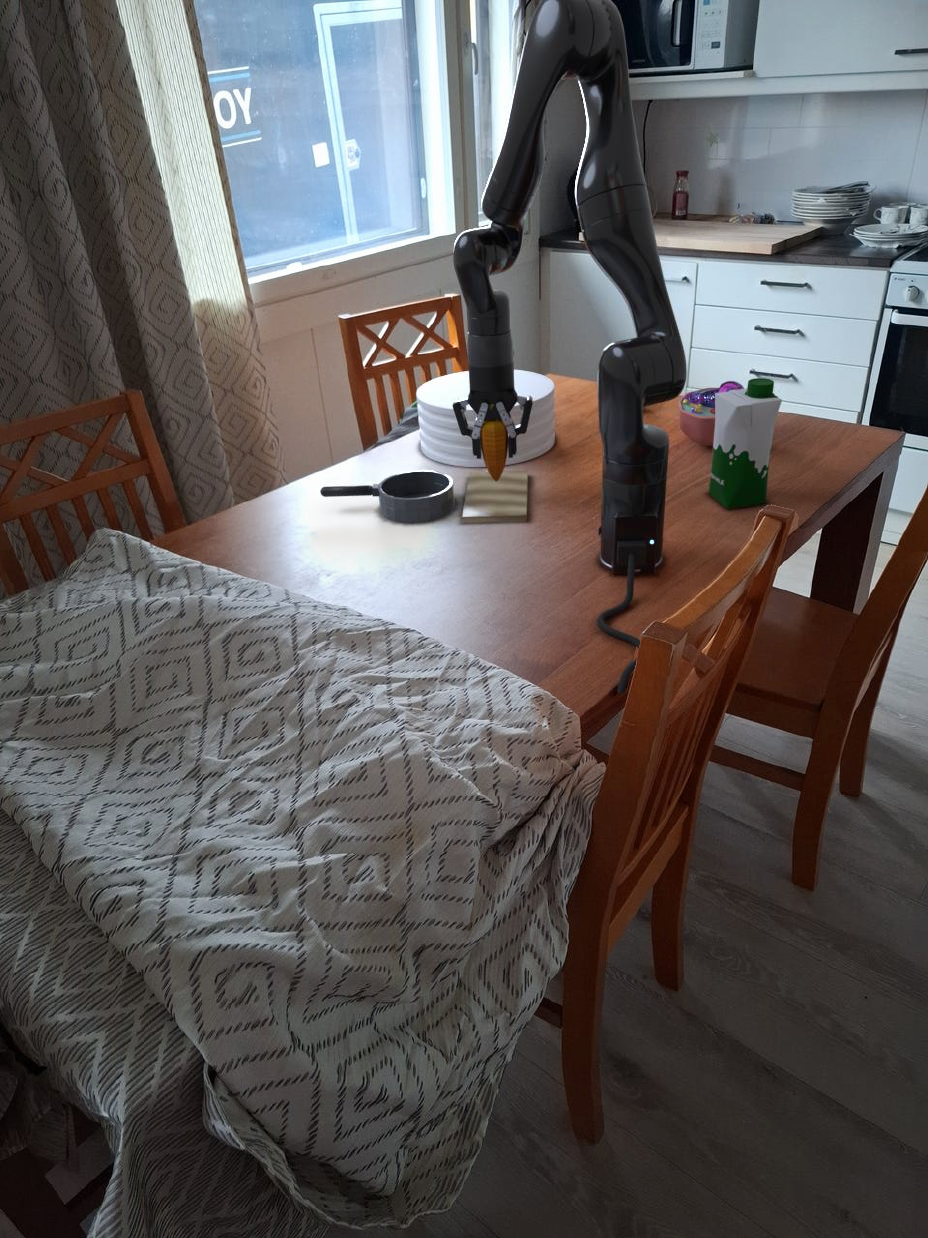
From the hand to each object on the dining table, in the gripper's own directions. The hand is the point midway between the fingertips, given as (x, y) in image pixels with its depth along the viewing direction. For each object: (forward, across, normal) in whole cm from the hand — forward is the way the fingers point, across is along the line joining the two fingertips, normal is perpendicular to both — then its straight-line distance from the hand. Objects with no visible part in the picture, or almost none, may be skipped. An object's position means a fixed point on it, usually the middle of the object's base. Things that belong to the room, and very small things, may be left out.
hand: (495, 456), depth 150 cm
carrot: (+5, 0, 0) cm, 5 cm away
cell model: (+8, +43, +25) cm, 51 cm away
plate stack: (+8, -3, +29) cm, 31 cm away
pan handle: (+5, -26, -3) cm, 27 cm away
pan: (+8, -14, -3) cm, 16 cm away
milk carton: (+8, +41, -3) cm, 42 cm away
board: (+8, 0, 0) cm, 8 cm away
